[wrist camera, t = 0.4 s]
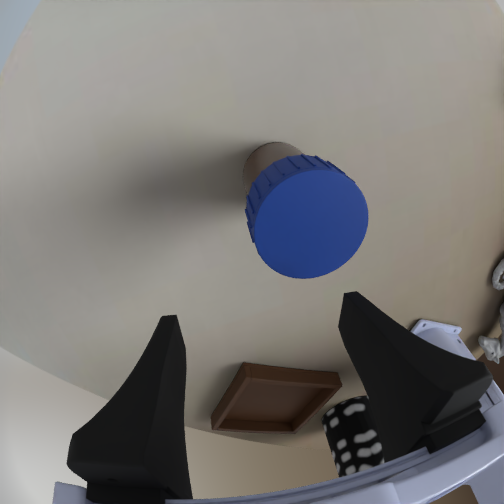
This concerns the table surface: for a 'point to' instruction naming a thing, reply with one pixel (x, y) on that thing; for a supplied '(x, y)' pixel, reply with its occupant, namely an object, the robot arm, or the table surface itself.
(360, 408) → the spotted tube
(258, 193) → the jar lid
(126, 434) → the robot arm
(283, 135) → the table surface
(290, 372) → the tray
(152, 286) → the table surface
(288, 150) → the jar
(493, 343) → the seahorse
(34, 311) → the table surface
